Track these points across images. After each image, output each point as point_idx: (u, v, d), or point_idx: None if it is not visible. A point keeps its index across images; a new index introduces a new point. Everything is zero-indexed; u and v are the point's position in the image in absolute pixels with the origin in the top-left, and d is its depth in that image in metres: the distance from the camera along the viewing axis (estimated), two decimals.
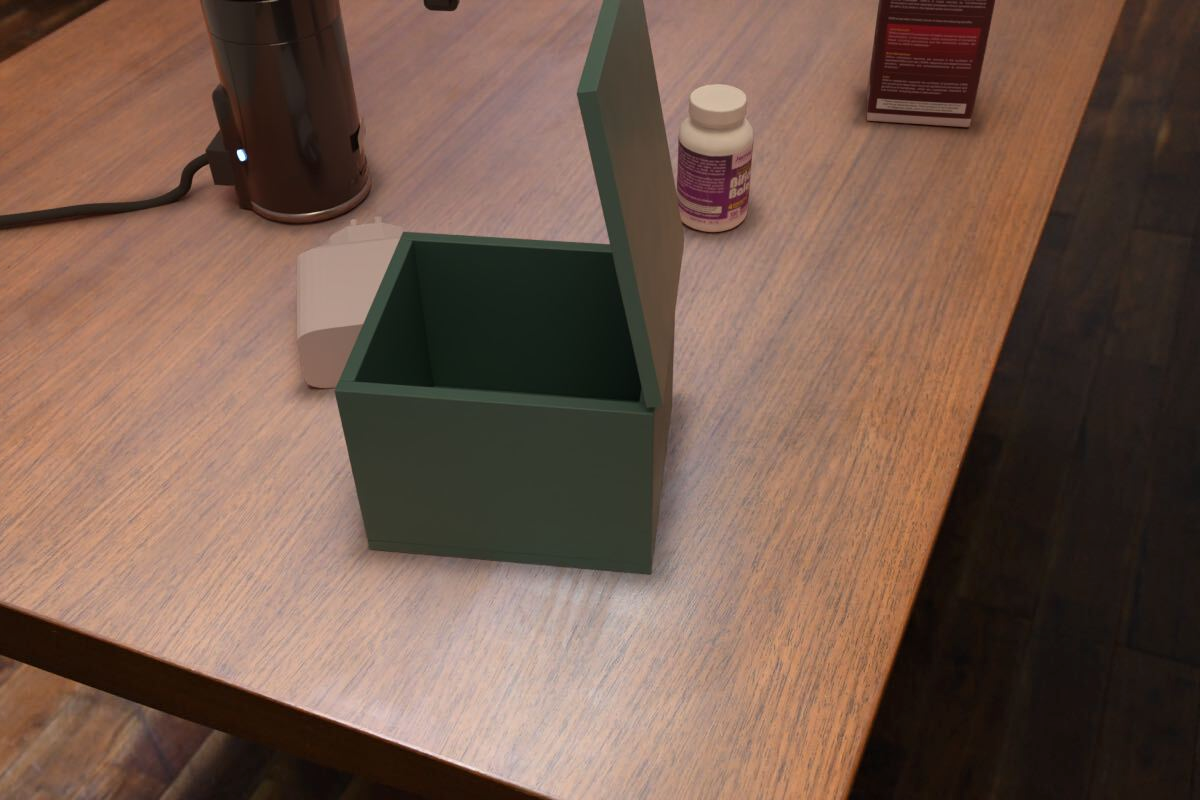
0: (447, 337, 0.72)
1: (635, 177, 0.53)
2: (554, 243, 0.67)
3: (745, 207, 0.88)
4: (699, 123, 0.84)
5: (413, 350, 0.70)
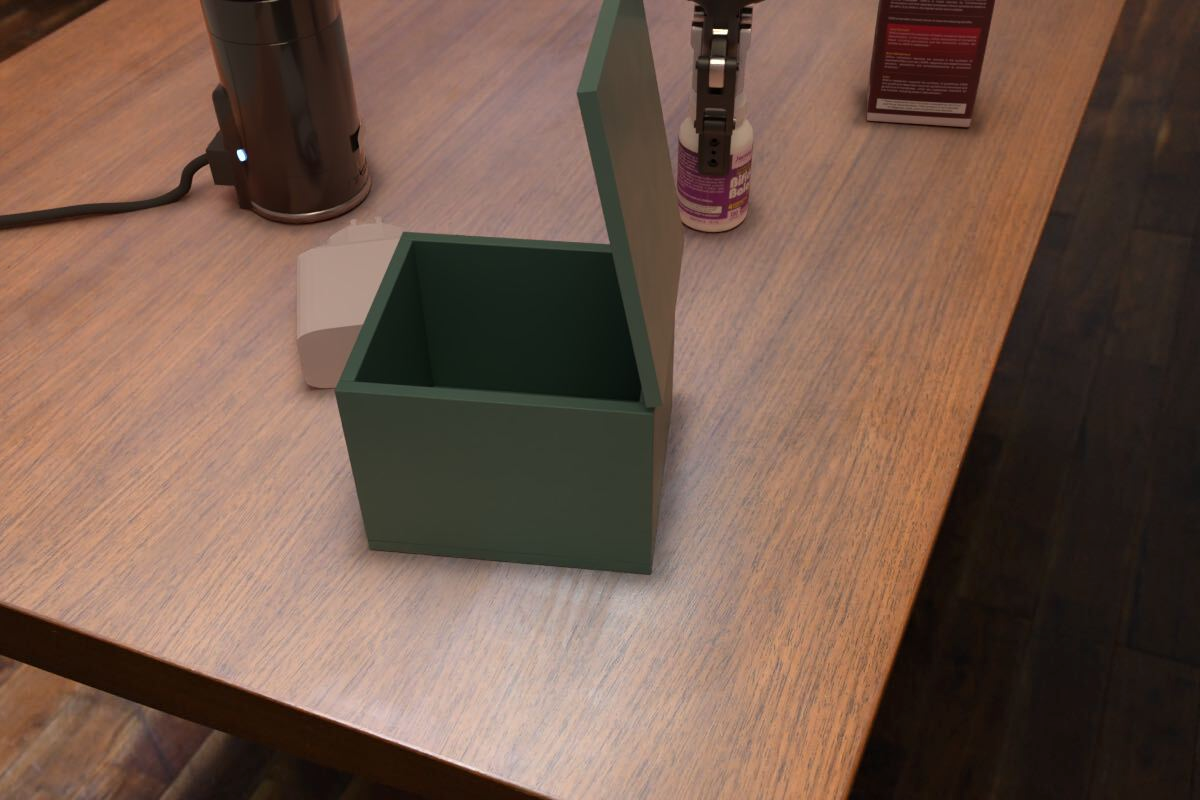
0: (447, 337, 0.72)
1: (635, 177, 0.53)
2: (554, 243, 0.67)
3: (745, 207, 0.88)
4: None
5: (413, 350, 0.70)
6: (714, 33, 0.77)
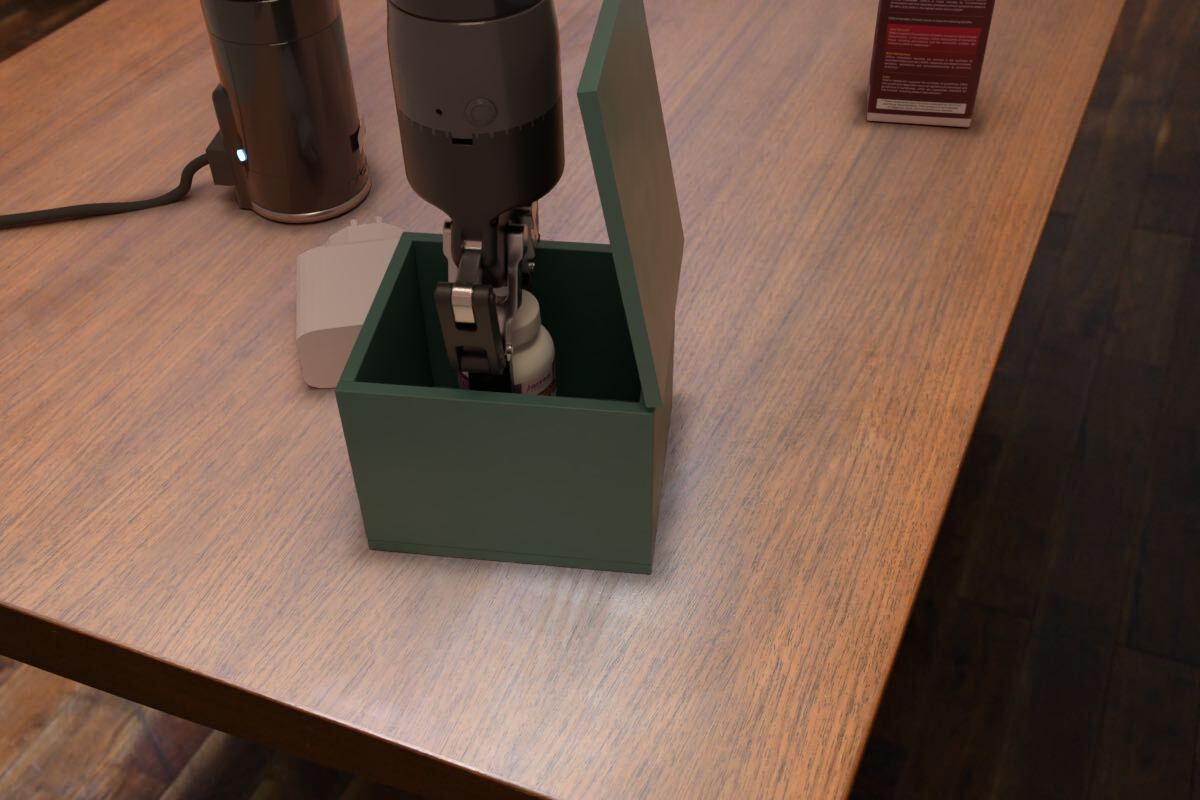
0: None
1: (635, 177, 0.53)
2: (554, 243, 0.67)
3: None
4: None
5: (413, 350, 0.70)
6: (465, 246, 0.56)
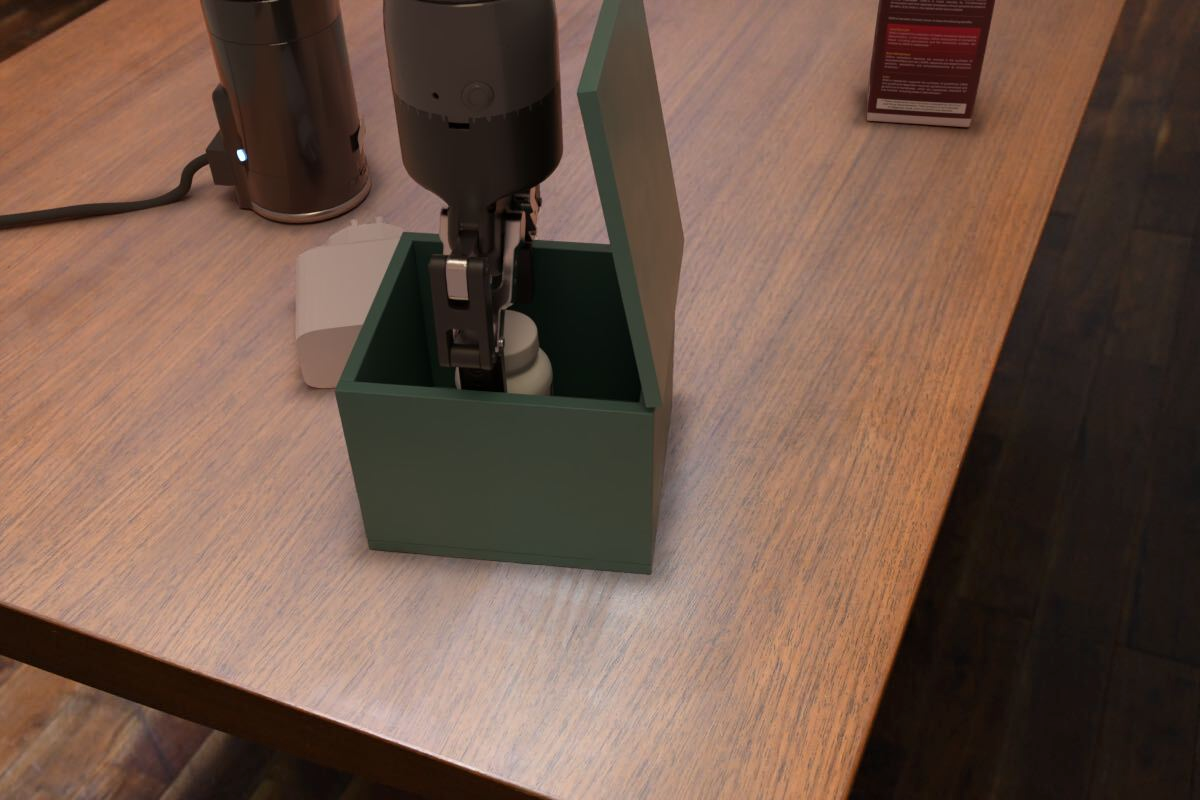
0: None
1: (635, 177, 0.53)
2: (554, 243, 0.67)
3: None
4: None
5: (413, 350, 0.70)
6: (462, 228, 0.55)
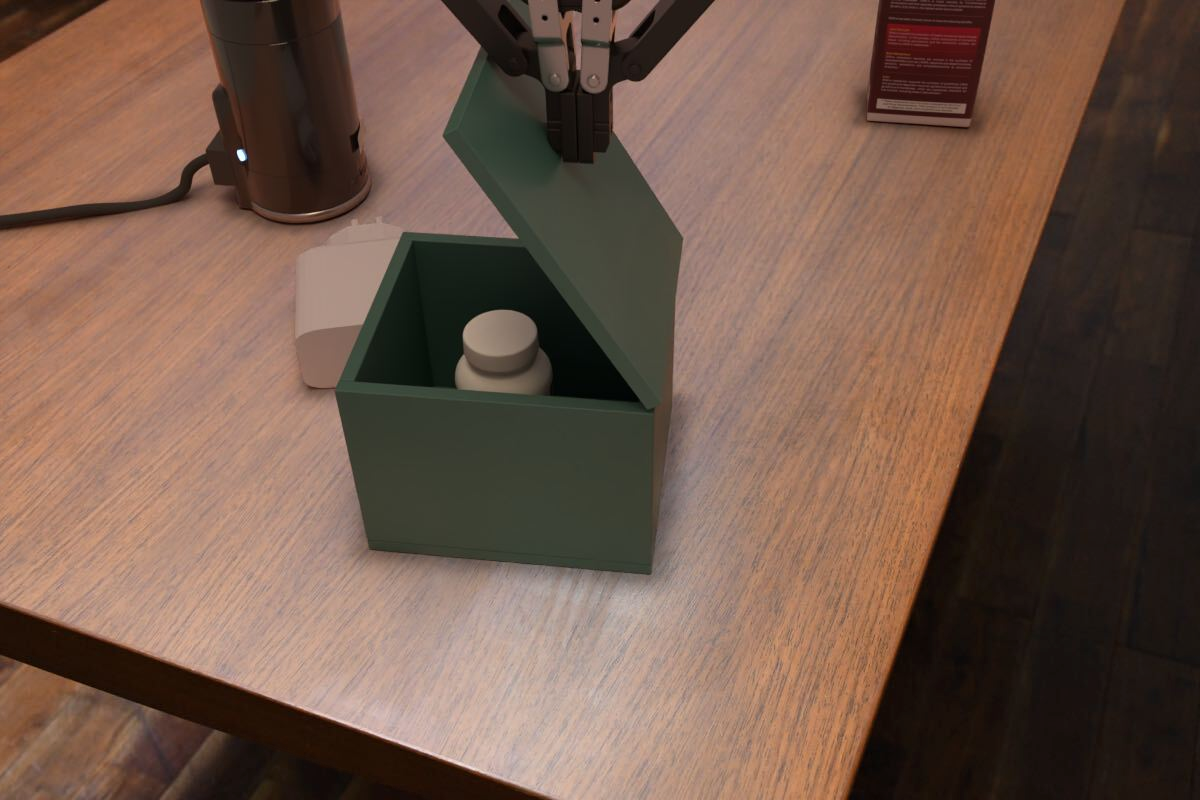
0: (447, 337, 0.72)
1: (558, 195, 0.54)
2: None
3: None
4: (474, 366, 0.64)
5: (413, 350, 0.70)
6: None
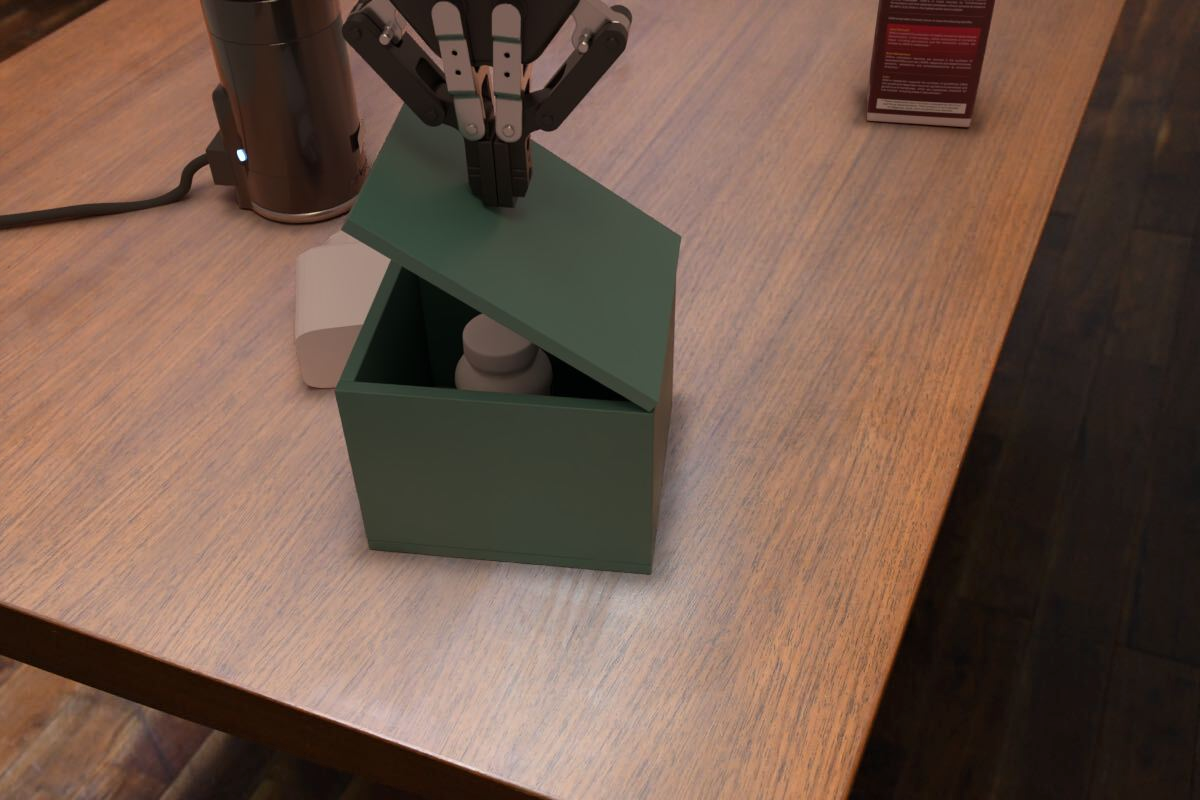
0: (447, 337, 0.72)
1: (491, 242, 0.56)
2: None
3: None
4: (474, 366, 0.64)
5: (413, 350, 0.70)
6: None
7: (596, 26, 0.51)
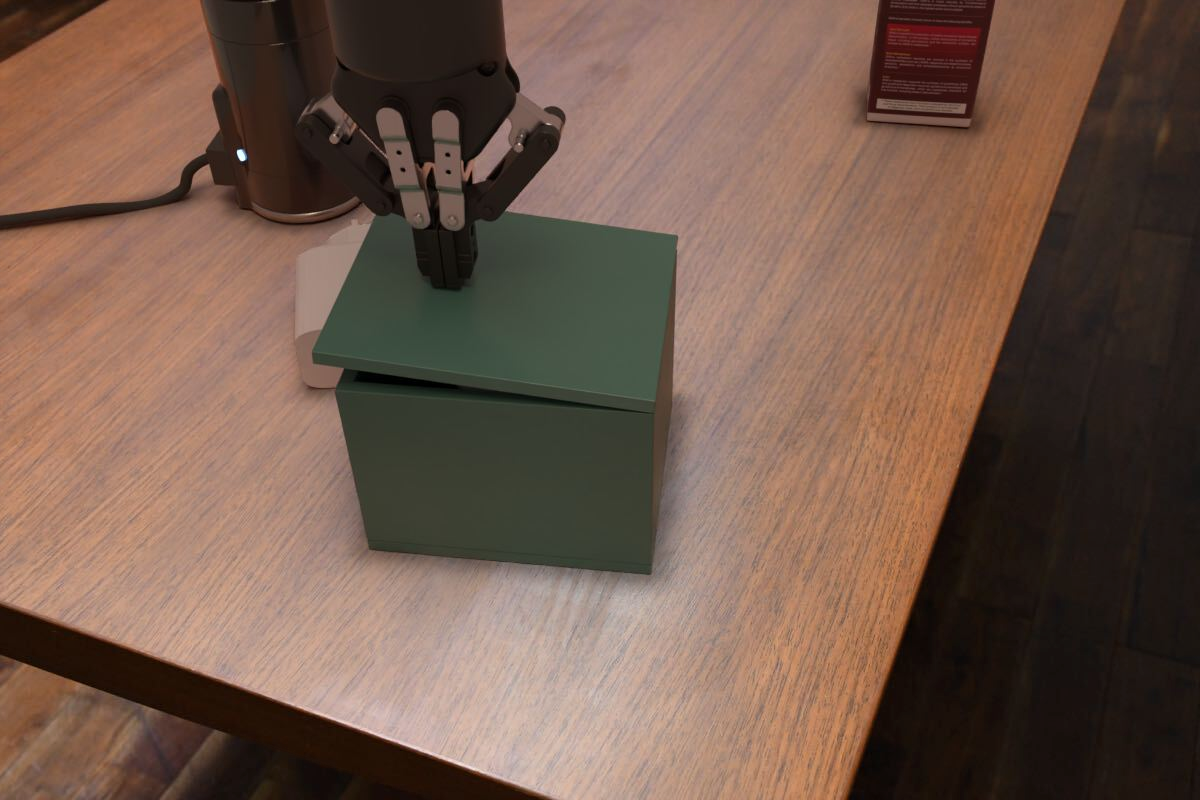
0: None
1: (460, 318, 0.60)
2: None
3: None
4: None
5: None
6: None
7: (531, 128, 0.55)
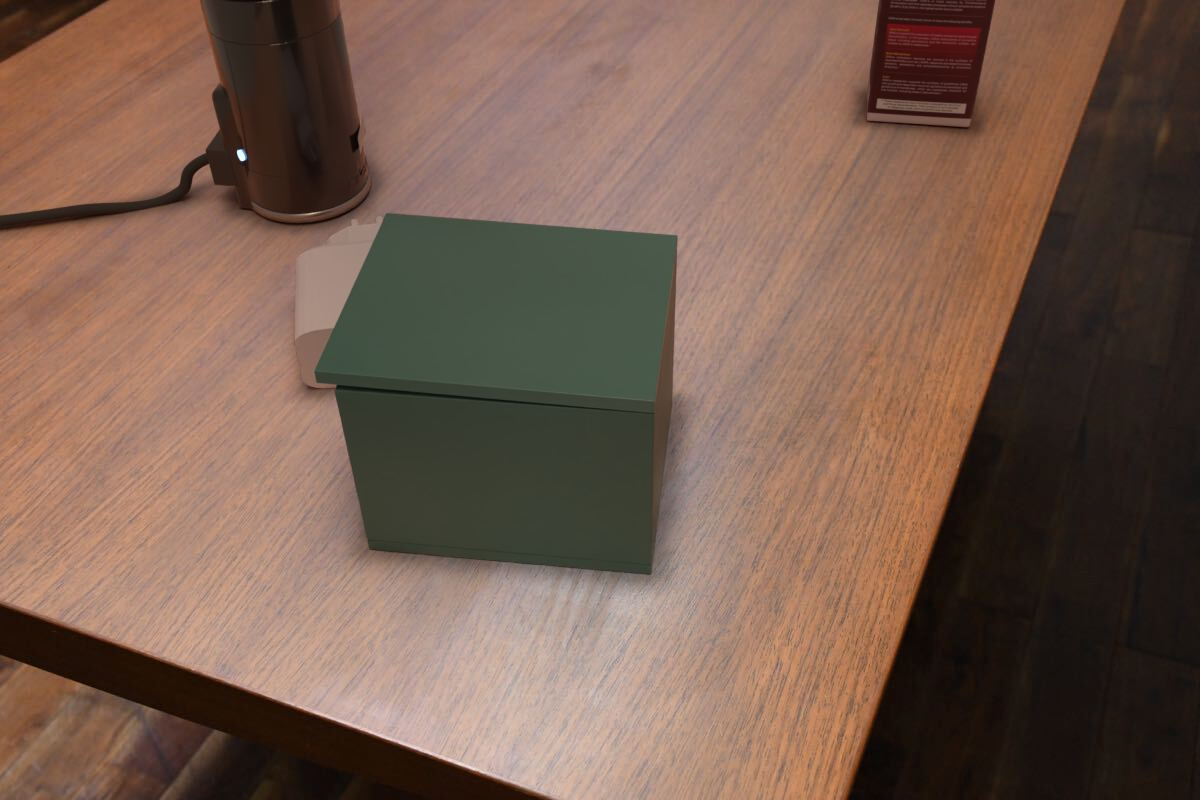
0: None
1: (460, 330, 0.60)
2: None
3: None
4: None
5: None
6: None
7: None
